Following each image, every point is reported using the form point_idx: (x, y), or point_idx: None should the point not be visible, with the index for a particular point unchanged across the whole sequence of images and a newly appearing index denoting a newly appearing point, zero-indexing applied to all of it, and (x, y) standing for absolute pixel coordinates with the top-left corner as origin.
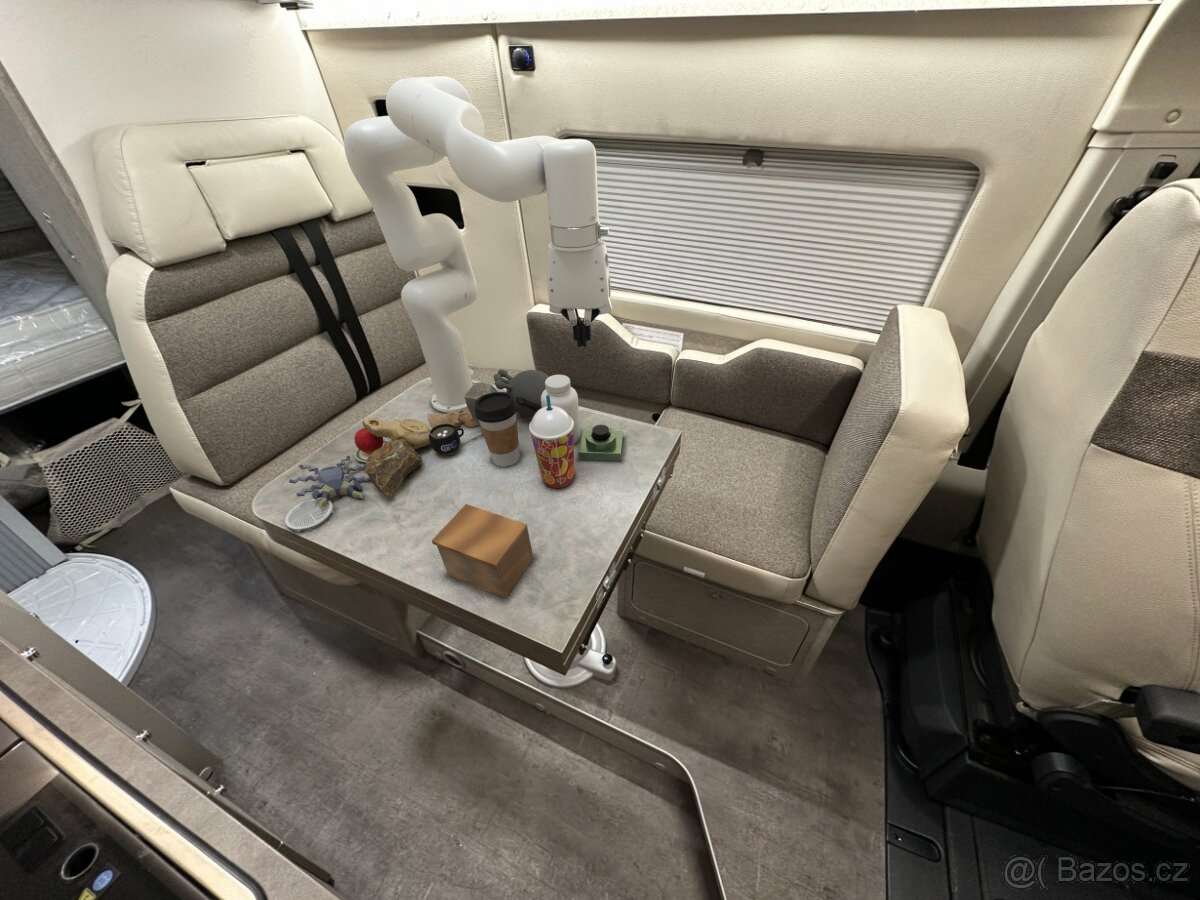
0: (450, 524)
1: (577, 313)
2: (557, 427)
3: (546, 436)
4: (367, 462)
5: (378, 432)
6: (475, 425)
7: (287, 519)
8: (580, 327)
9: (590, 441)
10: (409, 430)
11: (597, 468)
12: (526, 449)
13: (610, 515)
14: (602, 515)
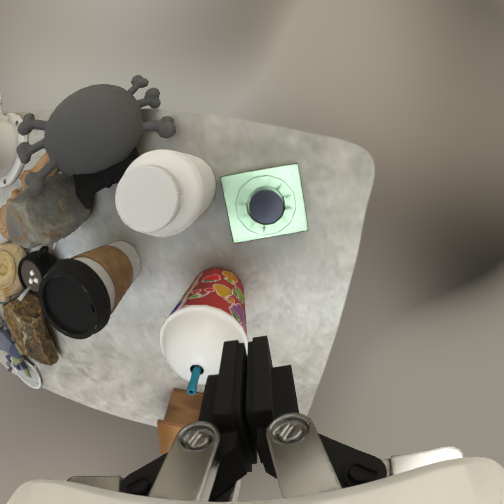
0: (162, 441)
1: (215, 467)
2: None
3: None
4: (15, 343)
5: None
6: None
7: (22, 379)
8: (254, 452)
9: (252, 230)
10: (4, 288)
11: (271, 252)
12: (139, 233)
13: (311, 334)
14: (301, 336)
